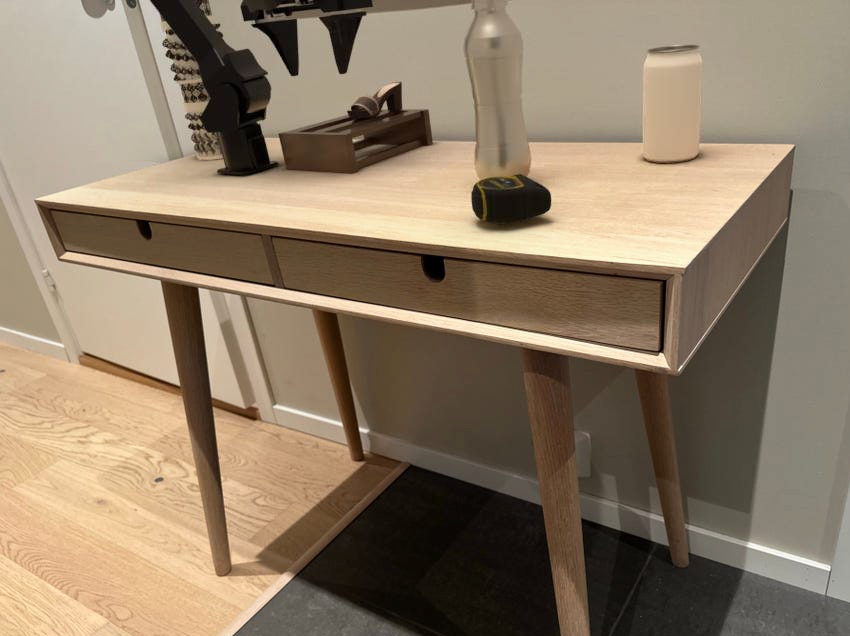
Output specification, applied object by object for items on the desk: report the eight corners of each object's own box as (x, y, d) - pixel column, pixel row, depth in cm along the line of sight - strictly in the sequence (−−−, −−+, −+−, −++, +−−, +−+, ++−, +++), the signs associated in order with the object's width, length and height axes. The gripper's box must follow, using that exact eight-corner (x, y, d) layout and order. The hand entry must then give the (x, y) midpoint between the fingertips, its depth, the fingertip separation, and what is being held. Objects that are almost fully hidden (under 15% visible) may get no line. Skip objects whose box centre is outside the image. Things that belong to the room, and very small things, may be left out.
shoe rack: (286, 169, 101) (278, 133, 99) (369, 141, 114) (364, 109, 111) (352, 173, 94) (345, 134, 92) (433, 143, 107) (428, 109, 105)
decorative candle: (262, 149, 118) (221, -20, 106) (212, 162, 112) (163, -15, 100) (233, 146, 123) (192, -15, 112) (185, 158, 118) (135, -10, 106)
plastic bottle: (468, 192, 79) (446, -8, 70) (488, 176, 85) (470, -11, 75) (522, 191, 77) (507, -15, 68) (540, 175, 82) (528, -17, 73)
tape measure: (555, 222, 66) (553, 182, 64) (486, 235, 65) (482, 195, 63) (529, 205, 72) (526, 168, 70) (465, 217, 70) (461, 180, 69)
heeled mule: (338, 121, 102) (333, 93, 101) (392, 108, 110) (388, 81, 108) (358, 122, 100) (353, 93, 98) (412, 108, 107) (408, 81, 105)
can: (710, 154, 83) (716, 44, 77) (672, 166, 80) (675, 52, 74) (668, 148, 88) (671, 44, 82) (631, 159, 85) (631, 51, 79)
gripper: (191, -49, 86) (225, 86, 94) (295, -70, 77) (325, 83, 84) (261, -51, 94) (288, 73, 102) (364, -71, 84) (385, 69, 92)
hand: (318, 74), depth 94 cm, fingers open, 9 cm apart
